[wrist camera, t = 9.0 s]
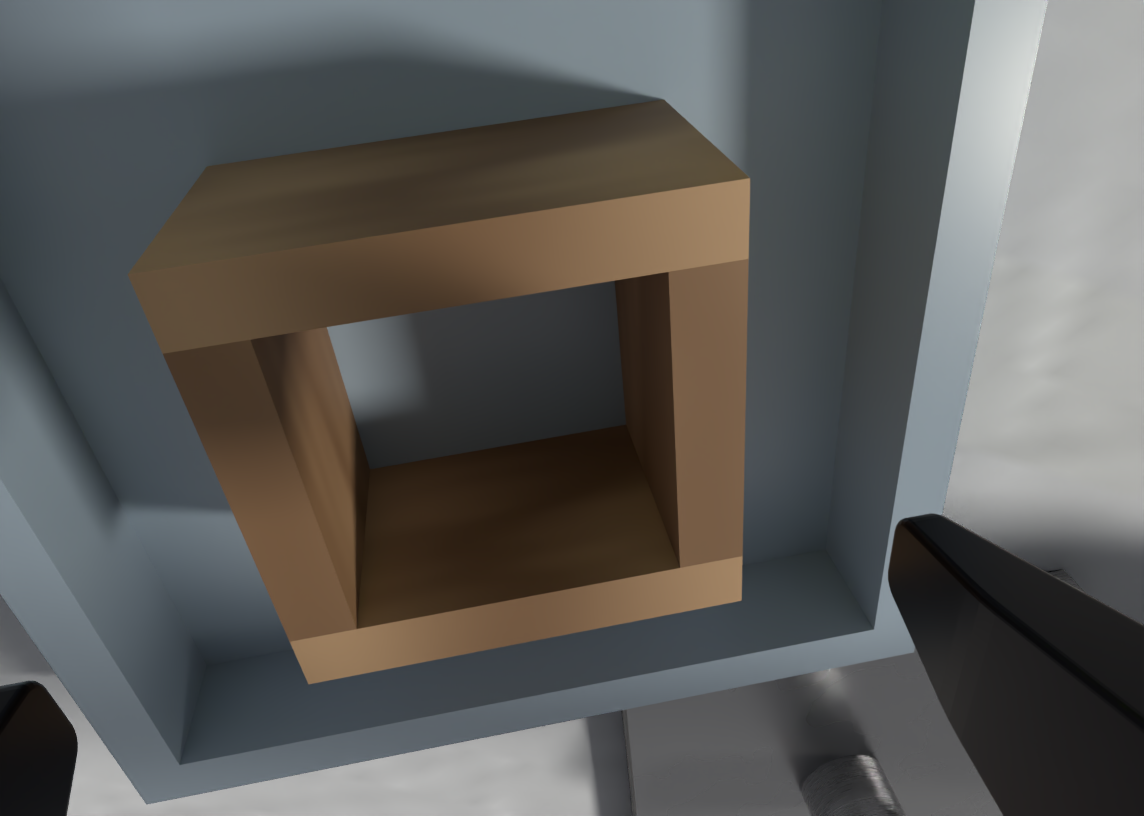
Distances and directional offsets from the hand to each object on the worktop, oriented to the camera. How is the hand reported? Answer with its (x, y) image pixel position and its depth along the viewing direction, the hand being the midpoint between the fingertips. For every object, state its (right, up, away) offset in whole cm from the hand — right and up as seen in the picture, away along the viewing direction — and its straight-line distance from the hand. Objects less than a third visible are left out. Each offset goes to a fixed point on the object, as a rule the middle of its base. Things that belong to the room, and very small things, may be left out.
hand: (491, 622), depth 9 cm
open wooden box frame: (-1, +4, +6) cm, 7 cm away
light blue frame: (-1, +4, +6) cm, 7 cm away
